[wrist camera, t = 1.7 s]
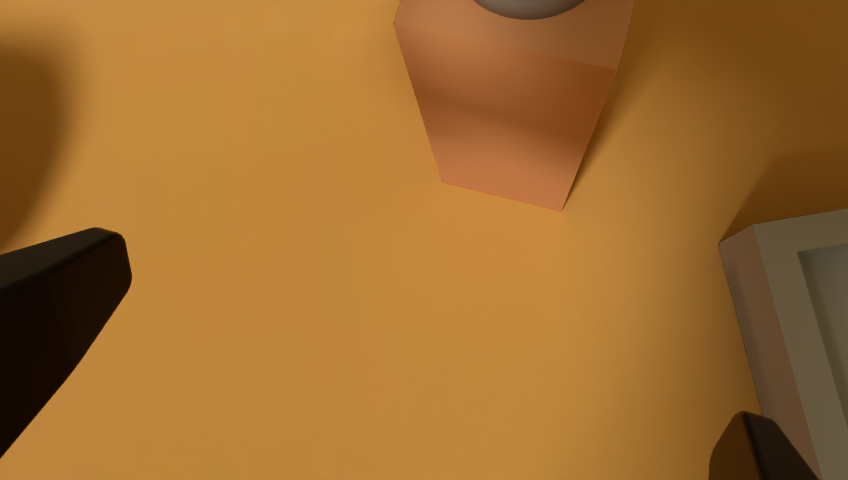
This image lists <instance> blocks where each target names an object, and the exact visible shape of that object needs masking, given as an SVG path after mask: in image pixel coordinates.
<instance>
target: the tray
mask: <svg viewBox="0 0 848 480" xmlns="http://www.w3.org/2000/svg"><path fill="white" fill-rule="evenodd" d="M718 245H719V249H720V253H721V256H722V260H723V264H724V268H725V272H726V276H727V279H728V283H729V287H730V291H731V295H732V299H733V302H734V306H735V310H736V314H737V318H738V322H739V325H740V329H741V333H742V337H743V341H744V345H745V348H746V352H747V356H748V360H749V364H750V368H751V371H752V375H753V379H754V383H755V387H756V391H757V394H758V398H759V402H760V406H761V410H762V414H763V416H764V417H767V418H770V419H772V420H773V421H775V422H776V423H777V424H778V426H779V427H780V428H781V430H782V431H783V432H784V433H785V435H786V436H787V437H788V439H789V440H790V441H791V443H792V444H793V445H794V447H795V448H796V449H797V451H798V452H799V453H800V455H801V456H802V457H803V458H804V460H805V461H806V462H807V464H808V465H809V466H810V468H811V469H812V470H813V472H814V473H815V474H816V476H817V477H818V478H819V480H848V208H845V209H840V210H834V211H828V212H822V213H816V214H811V215H805V216H799V217H793V218H787V219H782V220H776V221H770V222H764V223H758V224H753V225H751V226H749V227H747V228H745V229H744V230H742V231H740V232H738V233H736V234H735V235H733V236H731V237H729V238H728V239H726V240H724V241H722V242H720V243H719V244H718Z"/></svg>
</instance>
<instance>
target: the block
mask: <svg viewBox="0 0 848 480" xmlns="http://www.w3.org/2000/svg"><path fill="white" fill-rule="evenodd" d="M635 1H636V0H401V1H400V4H399V7H398V11H397V14H396V17H395V20H394V23H393V25H394V28H395V31H396V34H397V38H398V41H399V44H400V47H401V50H402V54H403V57H404V60H405V63H406V67H407V70H408V73H409V76H410V80H411V83H412V86H413V89H414V93H415V96H416V99H417V102H418V106H419V109H420V112H421V115H422V119H423V122H424V125H425V128H426V132H427V135H428V138H429V141H430V145H431V148H432V151H433V154H434V158H435V161H436V164H437V167H438V171H439V174H440V177H441V180H442V182H443V183H447V184H451V185H455V186H459V187H463V188H467V189H471V190H475V191H479V192H484V193H488V194H492V195H496V196H500V197H504V198H508V199H512V200H516V201H520V202H524V203H528V204H532V205H537V206H541V207H545V208H549V209H553V210H557V211H562V208H563V206H564V203H565V201H566V198H567V196H568V193H569V191H570V188H571V186H572V183H573V181H574V178H575V176H576V174H577V171H578V169H579V166H580V164H581V161H582V159H583V156H584V154H585V151H586V149H587V146H588V144H589V141H590V139H591V136H592V134H593V131H594V129H595V126H596V124H597V121H598V119H599V116H600V114H601V111H602V109H603V106H604V104H605V101H606V99H607V96H608V94H609V92H610V89H611V87H612V84H613V82H614V79H615V77H616V74H617V72H618V69H619V65H620V61H621V57H622V53H623V49H624V45H625V41H626V37H627V33H628V29H629V25H630V21H631V17H632V13H633V9H634V5H635Z"/></svg>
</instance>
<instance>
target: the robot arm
mask: <svg viewBox="0 0 848 480" xmlns="http://www.w3.org/2000/svg"><path fill="white" fill-rule="evenodd" d="M131 281H132V272H131V267H130V262H129V257H128V252H127V247H126V242H125V239H124V238H123V237H122V235H120V234H119V233H117V232H113V231H110V230H106V229H103V228H97V227H94V228H89V229H86V230H83V231H79V232H76V233H73V234H69V235H66V236H62V237H59V238H56V239H52V240H49V241H46V242H42V243H39V244H36V245H32V246H29V247H25V248H22V249H19V250H15V251H12V252H9V253H5V254H2V255H0V458H1V457H2V456H3V455H4V454H5V452H6V451H7V450H8V449H9V448H10V446H11V445H12V444H13V443H14V442H15V440H16V439H17V438H18V437H19V436H20V434H21V433H22V432H23V431H24V430H25V429H26V427H27V426H28V425H29V424H30V423H31V421H32V420H33V419H34V418H35V417H36V415H37V414H38V413H39V412H40V411H41V409H42V408H43V407H44V406H45V405H46V403H47V402H48V401H49V400H50V399H51V397H52V396H53V395H54V394H55V393H56V391H57V390H58V389H59V388H60V387H61V386H62V384H63V383H64V382H65V381H66V379H67V378H68V377H69V376H70V374H71V373H72V372H73V371H74V369H75V368H76V366H77V365H78V364H79V362H80V361H81V359H82V358H83V357H84V355H85V354H86V352H87V351H88V349H89V348H90V346H91V345H92V343H93V342H94V340H95V339H96V338H97V336H98V335H99V333H100V332H101V330H102V329H103V327H104V326H105V324H106V323H107V321H108V320H109V318H110V317H111V315H112V314H113V312H114V311H115V310H116V308H117V307H118V305H119V304H120V302H121V301H122V299H123V298H124V296H125V295H126V293H127V292H128V290H129V288H130V285H131ZM709 480H819V478H818V477H817V476H816V474H815V473H814V472H813V470H812V469H811V468H810V466H809V465H808V464H807V462H806V461H805V460H804V458H803V457H802V456H801V455H800V453H799V452H798V451H797V449H796V448H795V447H794V445H793V444H792V443H791V441H790V440H789V439H788V437H787V436H786V435H785V433H784V432H783V431H782V430H781V428H780V427H779V426H778V424H777V423H776V422H775V421H773V420H772V419H770V418H767V417H764V416H760V415H757V414H753V413H750V412H746V411H740V412H738V413H736V414H735V415H734V417H733V418H732V419H731V421H730V423H729V424H728V426H727V428H726V429H725V431H724V433H723V434H722V436H721V437H720V439H719V441H718V442H717V444H716V446H715V447H714V449H713V452H712V454H711V458H710V464H709Z"/></svg>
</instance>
